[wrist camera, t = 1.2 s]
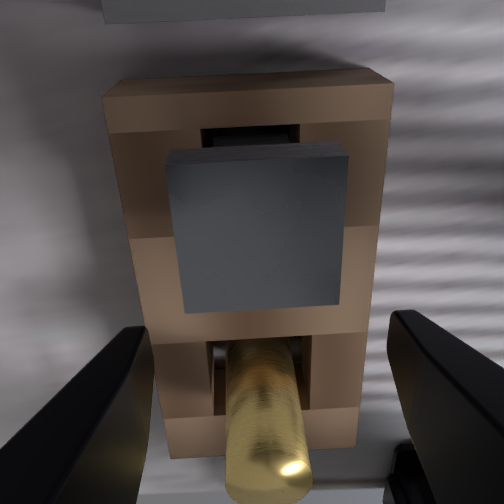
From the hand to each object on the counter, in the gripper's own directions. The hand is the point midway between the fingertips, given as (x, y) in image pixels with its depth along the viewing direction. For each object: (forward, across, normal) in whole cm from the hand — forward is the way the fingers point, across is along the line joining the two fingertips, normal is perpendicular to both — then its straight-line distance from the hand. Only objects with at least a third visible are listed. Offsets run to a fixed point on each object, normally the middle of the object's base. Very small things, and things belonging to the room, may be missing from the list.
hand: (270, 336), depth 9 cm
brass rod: (+11, 0, +9) cm, 14 cm away
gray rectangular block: (+8, 0, 0) cm, 8 cm away
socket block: (+11, 0, +5) cm, 12 cm away
